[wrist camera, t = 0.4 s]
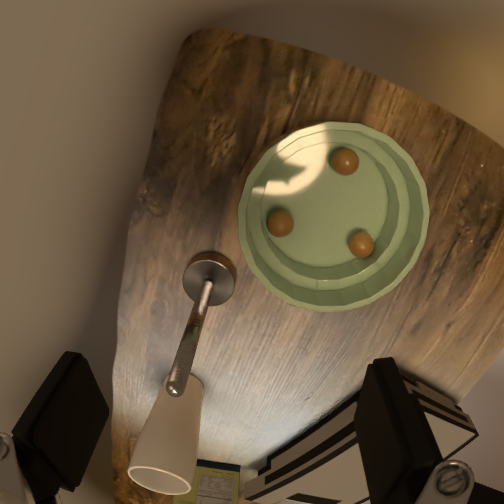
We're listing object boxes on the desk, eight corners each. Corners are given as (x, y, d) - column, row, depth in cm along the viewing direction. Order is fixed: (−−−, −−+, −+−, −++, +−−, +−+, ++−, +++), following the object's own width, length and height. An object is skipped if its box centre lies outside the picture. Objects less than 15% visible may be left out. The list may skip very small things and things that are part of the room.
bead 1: (266, 206, 28) (266, 214, 26) (293, 206, 28) (295, 214, 26) (266, 232, 29) (266, 241, 27) (292, 232, 29) (295, 241, 27)
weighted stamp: (184, 251, 31) (124, 360, 16) (235, 251, 31) (210, 367, 16) (189, 296, 33) (144, 415, 18) (237, 296, 33) (218, 422, 18)
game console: (246, 466, 46) (243, 505, 39) (390, 357, 36) (410, 405, 28) (330, 488, 50) (334, 520, 43) (460, 400, 40) (479, 435, 32)
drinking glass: (149, 372, 38) (113, 466, 24) (193, 360, 36) (165, 465, 23) (177, 404, 40) (153, 495, 26) (219, 395, 39) (204, 494, 25)
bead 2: (328, 146, 26) (334, 148, 24) (355, 147, 26) (363, 149, 24) (328, 173, 27) (334, 177, 25) (354, 173, 27) (362, 178, 25)
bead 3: (346, 228, 29) (353, 236, 27) (370, 228, 29) (379, 237, 27) (344, 252, 30) (350, 262, 28) (368, 251, 30) (375, 262, 27)
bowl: (240, 121, 26) (234, 120, 21) (405, 129, 26) (436, 132, 20) (245, 280, 32) (241, 313, 26) (390, 277, 31) (412, 307, 26)
